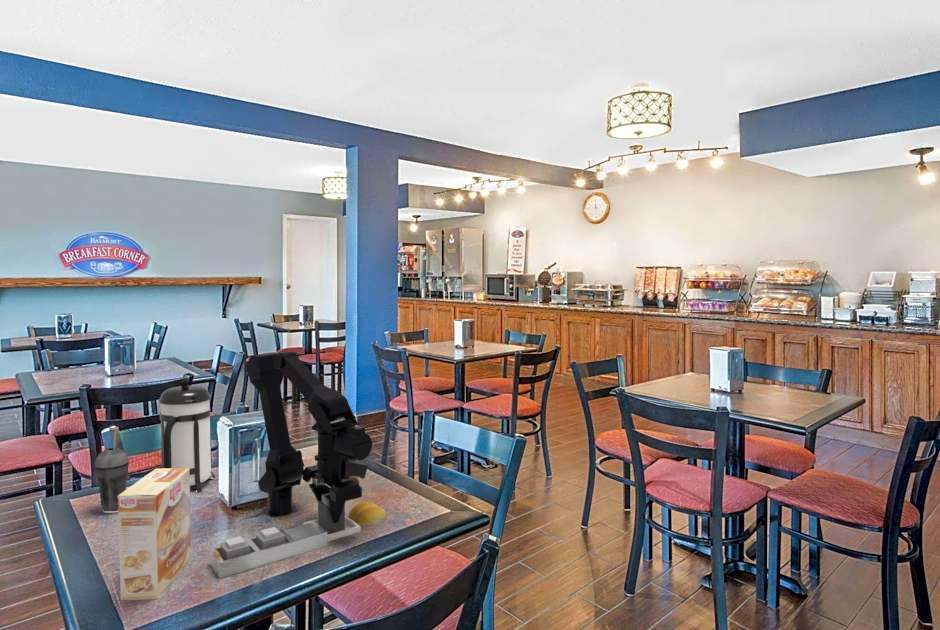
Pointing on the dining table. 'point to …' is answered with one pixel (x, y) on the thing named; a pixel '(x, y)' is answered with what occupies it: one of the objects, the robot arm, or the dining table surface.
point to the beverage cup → (111, 475)
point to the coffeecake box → (154, 533)
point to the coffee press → (186, 431)
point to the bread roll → (367, 514)
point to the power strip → (271, 550)
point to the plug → (329, 518)
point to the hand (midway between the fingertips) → (331, 518)
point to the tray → (349, 529)
